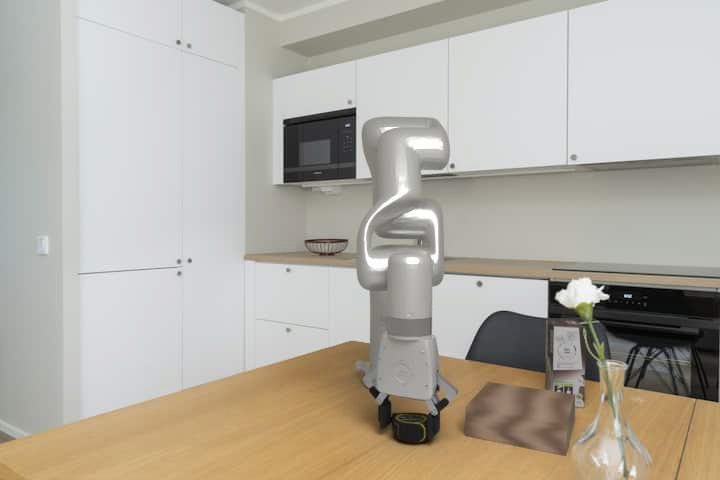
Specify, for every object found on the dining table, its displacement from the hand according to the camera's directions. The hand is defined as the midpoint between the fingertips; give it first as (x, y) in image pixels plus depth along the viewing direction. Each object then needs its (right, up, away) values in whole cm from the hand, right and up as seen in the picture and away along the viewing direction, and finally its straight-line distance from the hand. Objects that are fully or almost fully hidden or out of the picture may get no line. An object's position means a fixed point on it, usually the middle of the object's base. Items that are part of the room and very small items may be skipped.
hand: (408, 430), depth 84 cm
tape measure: (0, -2, +1) cm, 2 cm away
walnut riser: (+21, -2, +5) cm, 21 cm away
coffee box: (+34, -1, +20) cm, 40 cm away
